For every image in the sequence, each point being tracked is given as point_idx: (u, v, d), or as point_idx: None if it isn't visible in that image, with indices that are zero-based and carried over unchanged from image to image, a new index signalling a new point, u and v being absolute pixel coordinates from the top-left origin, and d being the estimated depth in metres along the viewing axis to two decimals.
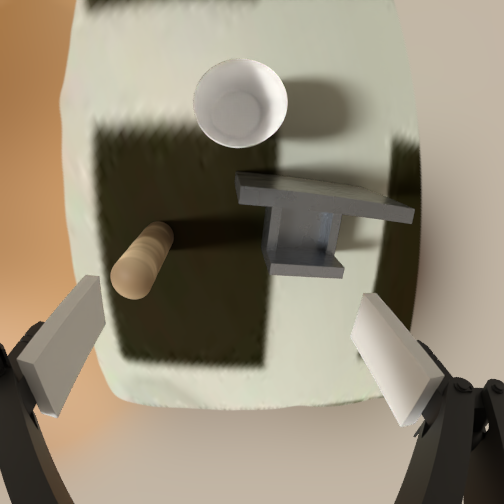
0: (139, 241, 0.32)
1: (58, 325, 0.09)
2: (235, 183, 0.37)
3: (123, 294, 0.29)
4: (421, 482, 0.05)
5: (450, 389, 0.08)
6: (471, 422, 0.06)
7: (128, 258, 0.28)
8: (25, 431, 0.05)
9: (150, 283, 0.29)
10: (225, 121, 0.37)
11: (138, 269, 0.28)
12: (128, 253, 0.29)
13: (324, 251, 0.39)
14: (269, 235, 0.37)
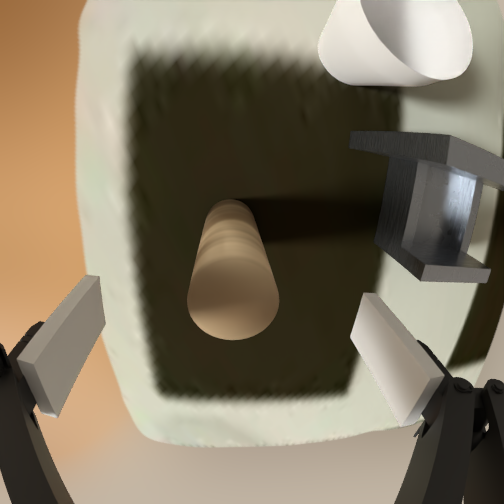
0: (226, 227, 0.19)
1: (58, 325, 0.09)
2: (359, 146, 0.23)
3: (212, 331, 0.15)
4: (421, 482, 0.05)
5: (450, 389, 0.08)
6: (471, 423, 0.06)
7: (231, 259, 0.14)
8: (25, 431, 0.05)
9: (274, 309, 0.15)
10: None
11: (254, 282, 0.14)
12: (223, 249, 0.15)
13: (456, 247, 0.25)
14: (407, 224, 0.23)
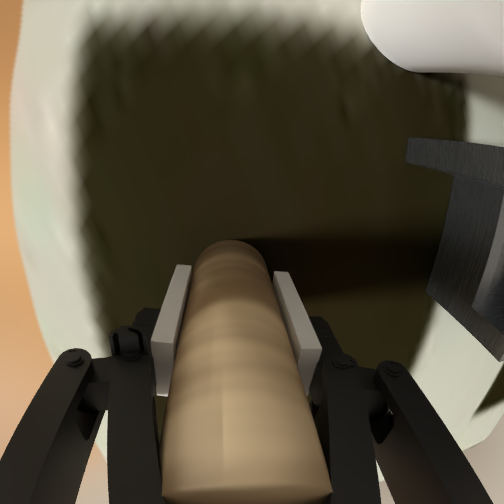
0: (225, 327, 0.09)
1: (178, 308, 0.11)
2: (428, 161, 0.14)
3: None
4: None
5: (328, 368, 0.09)
6: (362, 399, 0.08)
7: (242, 475, 0.04)
8: (149, 421, 0.06)
9: None
10: None
11: (290, 498, 0.05)
12: (219, 421, 0.06)
13: None
14: (483, 277, 0.14)
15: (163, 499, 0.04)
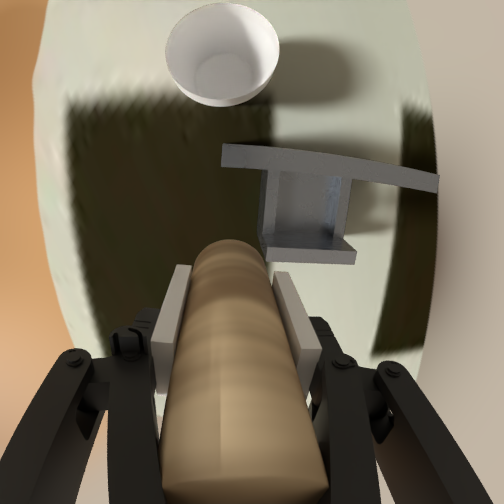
0: (224, 325, 0.10)
1: (178, 308, 0.11)
2: None
3: None
4: None
5: (328, 368, 0.09)
6: (362, 399, 0.08)
7: (239, 467, 0.05)
8: (149, 421, 0.06)
9: None
10: (210, 87, 0.30)
11: (286, 491, 0.05)
12: (217, 415, 0.06)
13: (331, 234, 0.33)
14: (265, 215, 0.31)
15: (163, 499, 0.04)
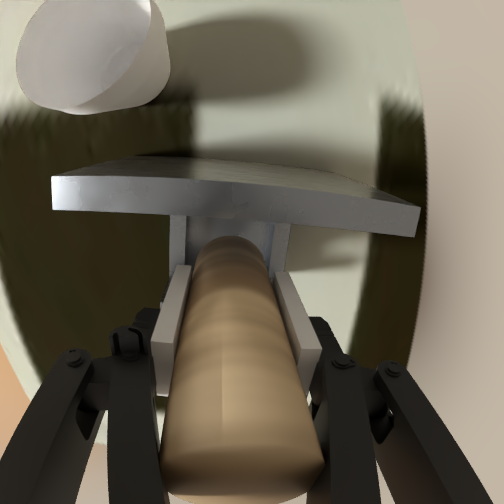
0: (225, 312, 0.10)
1: (178, 308, 0.11)
2: None
3: (206, 503, 0.07)
4: (324, 477, 0.06)
5: (328, 368, 0.09)
6: (362, 399, 0.08)
7: (238, 436, 0.05)
8: (149, 421, 0.06)
9: None
10: None
11: (283, 463, 0.06)
12: (219, 391, 0.07)
13: None
14: (170, 253, 0.23)
15: (163, 499, 0.04)
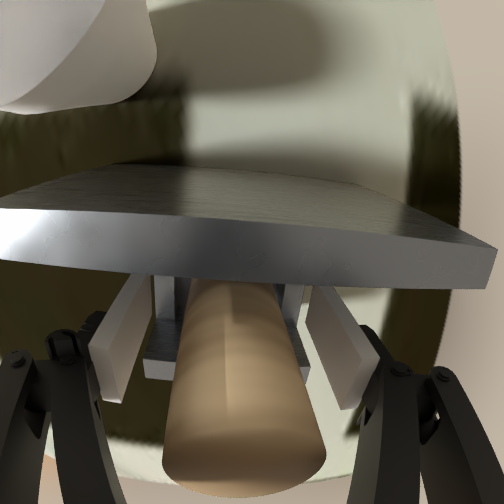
0: (227, 305, 0.11)
1: (123, 312, 0.11)
2: None
3: (209, 492, 0.07)
4: (371, 476, 0.06)
5: (386, 375, 0.09)
6: (415, 407, 0.07)
7: (243, 420, 0.06)
8: (90, 422, 0.06)
9: (316, 468, 0.07)
10: None
11: (285, 448, 0.06)
12: (223, 378, 0.07)
13: None
14: (156, 290, 0.18)
15: (113, 499, 0.04)
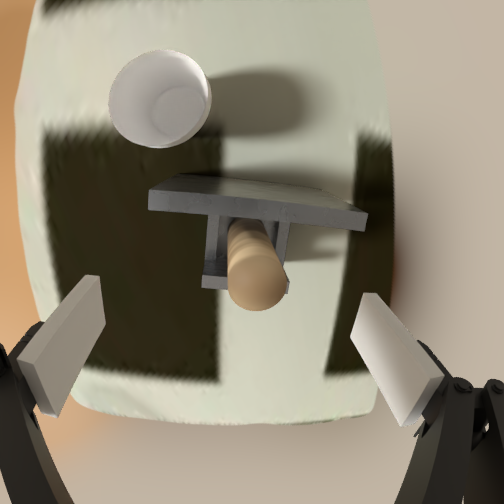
0: (249, 236, 0.27)
1: (58, 325, 0.09)
2: None
3: (242, 305, 0.23)
4: (421, 482, 0.05)
5: (450, 389, 0.08)
6: (470, 423, 0.06)
7: (258, 256, 0.22)
8: (25, 431, 0.05)
9: (284, 289, 0.23)
10: (166, 120, 0.33)
11: (271, 271, 0.22)
12: (250, 250, 0.23)
13: None
14: (207, 243, 0.34)
15: None
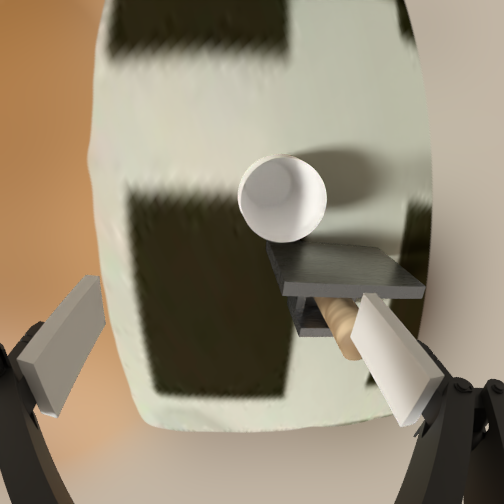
0: (345, 304, 0.35)
1: (58, 325, 0.09)
2: (268, 253, 0.42)
3: (348, 357, 0.31)
4: (421, 482, 0.05)
5: (450, 389, 0.08)
6: (471, 422, 0.06)
7: None
8: (25, 431, 0.05)
9: None
10: (258, 192, 0.41)
11: None
12: None
13: None
14: (298, 300, 0.42)
15: None
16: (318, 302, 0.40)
